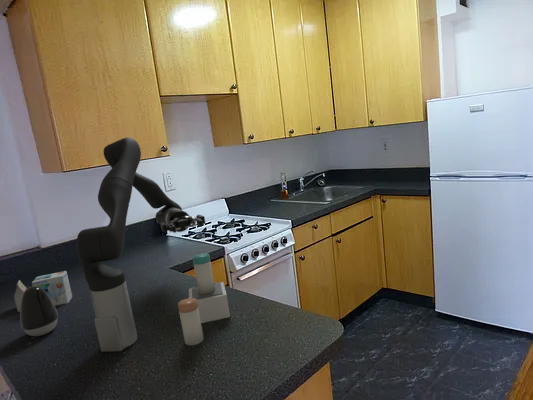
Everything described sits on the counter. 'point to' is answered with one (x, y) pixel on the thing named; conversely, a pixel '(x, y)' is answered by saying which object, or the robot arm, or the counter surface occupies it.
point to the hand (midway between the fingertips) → (187, 226)
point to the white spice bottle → (190, 321)
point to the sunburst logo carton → (19, 294)
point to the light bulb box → (55, 287)
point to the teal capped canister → (203, 273)
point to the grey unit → (211, 303)
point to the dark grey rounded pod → (37, 312)
